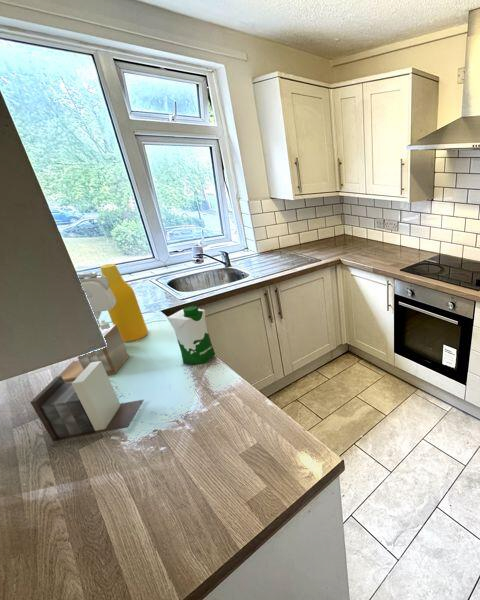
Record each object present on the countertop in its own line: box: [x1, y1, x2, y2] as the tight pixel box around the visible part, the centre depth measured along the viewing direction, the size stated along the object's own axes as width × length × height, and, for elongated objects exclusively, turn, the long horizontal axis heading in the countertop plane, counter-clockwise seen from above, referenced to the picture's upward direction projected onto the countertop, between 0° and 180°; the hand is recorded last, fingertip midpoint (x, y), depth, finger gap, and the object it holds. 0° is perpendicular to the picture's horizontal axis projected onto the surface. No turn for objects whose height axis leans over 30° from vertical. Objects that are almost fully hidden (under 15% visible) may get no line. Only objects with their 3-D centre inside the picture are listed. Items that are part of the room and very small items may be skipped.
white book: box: [71, 361, 121, 431], centre depth 85 cm, size 2×9×15 cm, turn 18°
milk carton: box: [166, 305, 216, 366], centre depth 110 cm, size 9×9×20 cm
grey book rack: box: [30, 375, 145, 443], centre depth 85 cm, size 16×11×13 cm
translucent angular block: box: [58, 324, 131, 383], centre depth 106 cm, size 16×11×13 cm
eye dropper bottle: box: [99, 319, 111, 330], centre depth 117 cm, size 4×6×12 cm
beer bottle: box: [99, 263, 149, 343], centre depth 122 cm, size 9×9×29 cm
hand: (70, 332), depth 78 cm, fingers open, 8 cm apart
